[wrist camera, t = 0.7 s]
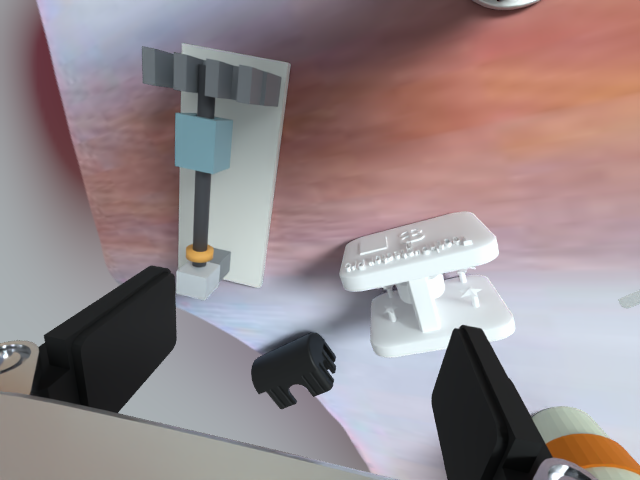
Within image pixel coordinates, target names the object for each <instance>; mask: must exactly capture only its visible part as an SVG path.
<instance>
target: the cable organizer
mask: <svg viewBox="0 0 640 480" xmlns="http://www.w3.org/2000/svg"><path fill="white" fill-rule="evenodd" d="M498 254H499V251H498V245H497V240H496V237H495V235H494V234H493V233H492V232H491V231H490V230H489V229H488V228H487V227H486V226H485V225H484V224H483V223H482V222H481V221H480V220H479V219H478V218H477V217H476V216H475V215H474V214H473V213H472V212H456V213H451V214H446V215H443V216H439V217H435V218H431V219H428V220H424V221H420V222H416V223H412V224H409V225H405V226H401V227H397V228H393V229H390V230H386V231H382V232H378V233H375V234H371V235H367V236H363V237H360V238H357V239H355V240H353V241H351V242H349V243H348V244H347V245H346V247H345V251H344V255H343V260H342V264H341V268H340V273H339V276H340V278H341V281H342V284H343V287H344V289H345V290H347V291H351V292H360V291H366V290H371V289H375V288H377V289H379V288H384V290H386V289H387V292H386V293H383V294H381V295H379V296H377V297H375V298H374V299H373V300H372V302H371V330H370V341H371V344H372V347H373V350H374V352H375V353H376V354H377V355H378V356H381V357H386V358H393V357H400V356H406V355H412V354H418V353H424V352H431V351H437V350H443V349H447V347H448V344H449V340H450V337H451V334H452V331H453V329H454V328H458V329H459V327H460V326H461V325H467V326H472V327H477V328H481V329H482V330H483V331H484V333H485V335H486V337H487V339H488V341H489V342H492V341H497V340H501V339H504V338H506V337H508V336H510V335H511V334H512V333H513V332H514V331H515V323H514V318H513V314H512V313H511V311H510V310H509V308H508V307H507V305H506V304H505V302H504V301H503V299H502V298H501V296H500V295H499V294H498V292H497V291H496V289H495V288H494V286H493V285H492V283H491V282H490V280H489V279H488V278H487V277H486V276H483V275H465V273H467V272H466V270H467V269H468V268H471V269H475V266H479V265H482V264H485V263H488V262H490V261H492V260H494V259H495V258H496V257H497V256H498ZM457 270H458V271H457ZM475 270H476V269H475ZM452 271H457V273H459V277H456V278H451V279H446V280H444V279H443V275H442V274H443V273H448V272H452ZM394 285H396V287H397V290H395V291H393V290H392V287H393V286H394Z"/></svg>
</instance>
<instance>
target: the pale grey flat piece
mask: <svg viewBox="0 0 640 480" xmlns="http://www.w3.org/2000/svg"><path fill="white" fill-rule="evenodd" d="M618 301H619V303H620V304H621V306H622V307H624V308H631V307H633V306H635V305H638V304H640V290H639V291H636V292H634V293H632V294H630V295H627V296H625V297H623V298H620V299H618Z"/></svg>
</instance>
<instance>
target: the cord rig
mask: <svg viewBox="0 0 640 480" xmlns="http://www.w3.org/2000/svg"><path fill="white" fill-rule="evenodd" d="M290 67H291V64H290V63H287V62H282V61H277V60H271V59H266V58H260V57H255V56H250V55H244V54H239V53H233V52H228V51H223V50H217V49H212V48H206V47H201V46H195V45H190V44H185V43H182V54H180V53H175V52H174V54H171V53H168V52H164V51H161V50H157V49H154V48H148V47H143V46H142V71H143V83H144V84H149V85H154V86H161V87H169V88H173V89H174V90H179V91H181V113H197V116H199V117H204V118H209V119H214V116H215V117H220V118H225V119H230V120H233V129H232V143H231V157H230V168H228V169H226V170H223V171H220V172H218V173H215V174H210V173H205V172H201V171H196V170H191V169H187V168H182V167H180V186H179V247H178V270H177V271H176V294H180V295H184V296H188V297H192V298H196V299H200V300H204V301H205V300H206V299H207V298H208V297H209V296H210V295H211V294H212V293H213V292H214V291H215V290H216V288H217V287H218V286H219V282H220V281H221V280H222V279H223V280H227V281H232V282H236V283H240V284H244V285H248V286H252V287H256V288H260V287H261V286H262V284H263V276H264V269H265V261H266V253H267V245H268V238H269V230H270V222H271V214H272V207H273V199H274V191H275V183H276V175H277V168H278V160H279V152H280V144H281V137H282V129H283V121H284V113H285V105H286V98H287V90H288V82H289V74H290Z"/></svg>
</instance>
